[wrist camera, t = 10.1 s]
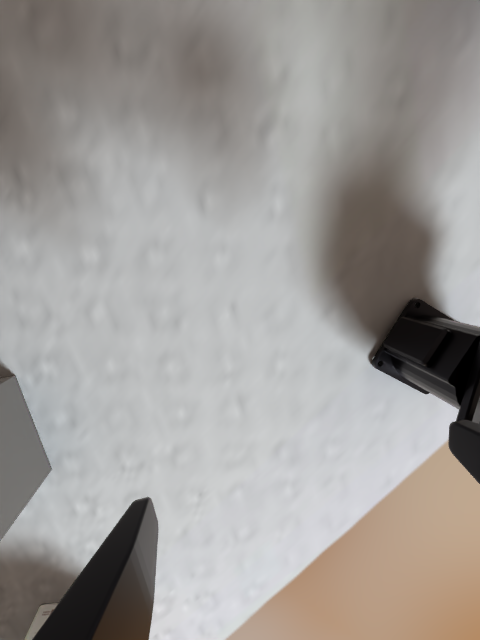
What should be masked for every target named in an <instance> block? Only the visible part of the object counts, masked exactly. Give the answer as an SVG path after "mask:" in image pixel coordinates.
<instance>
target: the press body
mask: <svg viewBox="0 0 480 640" xmlns="http://www.w3.org/2000/svg"><path fill="white" fill-rule="evenodd" d="M51 470H52V469H51V466H50V464H49V461H48V459H47V456H46V454H45V451H44V448H43V446H42V443H41V441H40V438H39V436H38V433H37V431H36V428H35V425H34V423H33V420H32V418H31V415H30V413H29V410H28V407H27V405H26V402H25V400H24V397H23V395H22V392H21V389H20V387H19V384H18V382H17V379H16V377H15V376H9V377H4V378H0V541H1V539H2V538H3V537H4V535H5V534H6V533H7V531H8V530H9V528H10V527H11V526H12V524H13V523H14V521H15V520H16V519H17V517H18V516H19V514H20V513H21V512H22V510H23V509H24V507H25V506H26V505H27V503H28V502H29V501H30V499H31V498H32V496H33V495H34V494H35V492H36V491H37V489H38V488H39V487H40V485H41V484H42V482H43V481H44V480H45V478H46V477H47V475H48V474H49V473H50V471H51Z"/></svg>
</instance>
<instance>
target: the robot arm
mask: <svg viewBox="0 0 480 640" xmlns="http://www.w3.org/2000/svg"><path fill="white" fill-rule="evenodd" d="M415 304H416V306H415ZM379 361H380V363H379V364H378V362H379ZM372 365H373V367H375V368H376V369H378V370H380V371H382V372H384V373H386V374H388V375H390V376H391V377H393V378H395V379H397V380H399V381H401V382H403V383H405V384H407V385H409V386H411V387H412V388H414V389H416V390H418V391H420V392H422V393H424V394H429V393H431V394H433V395H435V396H436V397H438V398H440V399H442V400H443V401H445V402H447V403H449V404H450V405H452V406H454V407H456V408H457V409H459V412H458V416H457V419H456V421H455V422H452V423H451V424H450V426H449V448H450V451H451V452H452V454H453V455H454V456H455V457H456V458H457V459H458V460H459V462H460V463H461V464H462V465H463V466H464V467H465V468H466V469H467V470H468V472H469V473H470V474H471V475H472V476H473V477H474V478H475V479H476V481H477V482H478V483H479V484H480V327H477V326H473V325H469V324H465V323H460V322H456V321H454V320H452V319H450V318H449V317H447V316H446V315H444V314H443V313H441V312H439V311H438V310H436V309H435V308H433V307H432V306H430V305H428V304H427V303H425V302H424V301H422V300H420V299H412V300H410V301H409V303H408V304H407V306H406V308H405V309H404V311H403V312H402V314H401V316H400V317H399V319H398V320H397V322H396V324H395V325H394V327H393V328H392V330H391V332H390V333H389V335H388V336H387V338H386V340H385V341H384V343H383V344H382V346H381V347H380V349H379V351H378V352H377V354H376V355H375V357H374V359H373V361H372ZM157 542H158V520H157V517H156V513H155V510H154V506H153V503H152V500H151V498H149V497H146V498H142V499H138V500H135V501H134V502H133V503H132V504H131V505H130V507H129V508H128V509H127V511H126V512H125V514H124V515H123V516H122V518H121V519H120V520H119V522H118V523H117V524H116V526H115V527H114V529H113V530H112V531H111V533H110V534H109V535H108V537H107V538H106V539H105V541H104V542H103V543H102V545H101V546H100V548H99V549H98V550H97V552H96V553H95V554H94V556H93V557H92V558H91V560H90V561H89V563H88V564H87V565H86V567H85V568H84V569H83V571H82V572H81V573H80V575H79V576H78V577H77V579H76V580H75V582H74V583H73V584H72V586H71V587H70V588H69V590H68V591H67V592H66V594H65V595H64V597H63V598H62V599H61V601H60V602H59V603H58V605H57V606H56V607H55V609H54V610H53V611H52V613H51V614H50V616H49V617H48V618H47V620H46V621H45V622H44V624H43V625H42V626H41V628H40V629H39V631H38V632H37V633H36V635H35V636H34V637H33V639H32V640H149V633H150V626H151V620H152V612H153V603H154V590H155V574H156V558H157Z"/></svg>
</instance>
